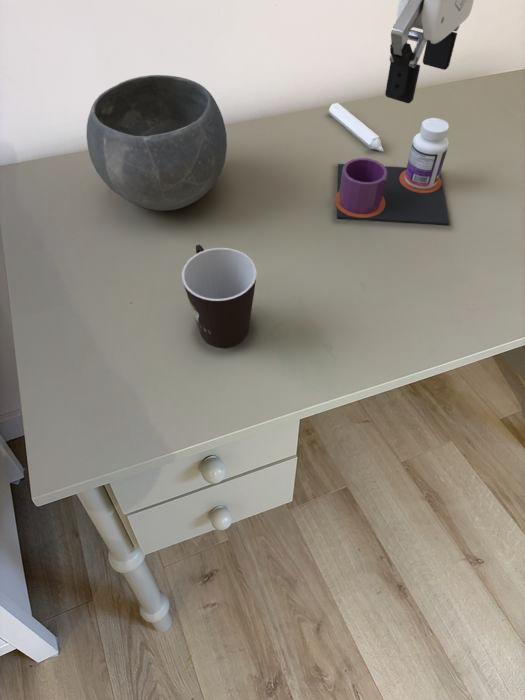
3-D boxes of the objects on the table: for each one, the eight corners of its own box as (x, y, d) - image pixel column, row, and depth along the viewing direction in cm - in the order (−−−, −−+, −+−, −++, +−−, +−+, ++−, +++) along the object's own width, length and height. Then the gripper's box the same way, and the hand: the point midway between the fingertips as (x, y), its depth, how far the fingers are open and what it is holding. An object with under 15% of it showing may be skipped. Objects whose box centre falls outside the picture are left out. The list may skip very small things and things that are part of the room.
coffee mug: (256, 355, 66) (255, 301, 58) (188, 354, 66) (177, 300, 58) (258, 287, 73) (257, 231, 65) (196, 287, 73) (188, 230, 65)
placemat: (438, 171, 89) (439, 168, 89) (448, 225, 81) (449, 222, 81) (335, 165, 90) (335, 163, 90) (333, 218, 82) (334, 215, 82)
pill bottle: (423, 167, 89) (438, 111, 82) (444, 184, 86) (461, 128, 79) (397, 176, 88) (410, 120, 80) (417, 194, 85) (432, 138, 77)
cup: (379, 189, 86) (386, 159, 81) (381, 215, 82) (388, 185, 77) (338, 187, 86) (343, 156, 82) (338, 213, 82) (342, 182, 78)
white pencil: (382, 160, 93) (331, 117, 101) (391, 152, 92) (340, 109, 100) (378, 151, 90) (327, 107, 99) (388, 142, 90) (336, 99, 98)
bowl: (176, 142, 95) (164, 55, 83) (256, 193, 86) (255, 103, 74) (79, 191, 86) (50, 101, 74) (157, 253, 77) (137, 162, 65)
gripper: (459, -78, 43) (414, 123, 56) (529, -122, 51) (476, 62, 65) (376, -91, 46) (352, 103, 59) (456, -131, 54) (420, 47, 68)
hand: (417, 82), depth 62 cm, fingers open, 9 cm apart
